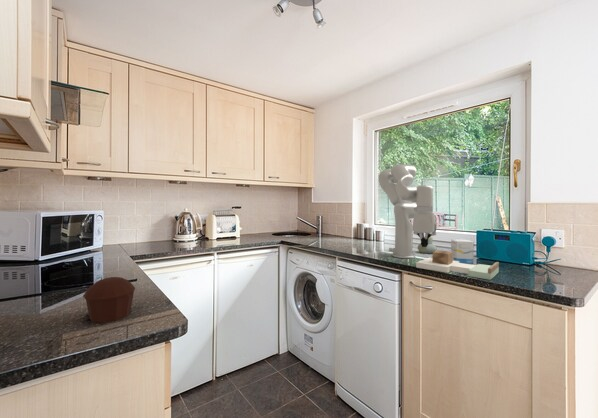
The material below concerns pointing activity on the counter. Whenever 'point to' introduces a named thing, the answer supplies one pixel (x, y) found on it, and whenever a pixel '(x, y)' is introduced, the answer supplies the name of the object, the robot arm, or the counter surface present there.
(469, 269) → the platform
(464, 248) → the ink box
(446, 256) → the walnut block
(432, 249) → the air freshener
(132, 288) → the muffin
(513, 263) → the counter surface
